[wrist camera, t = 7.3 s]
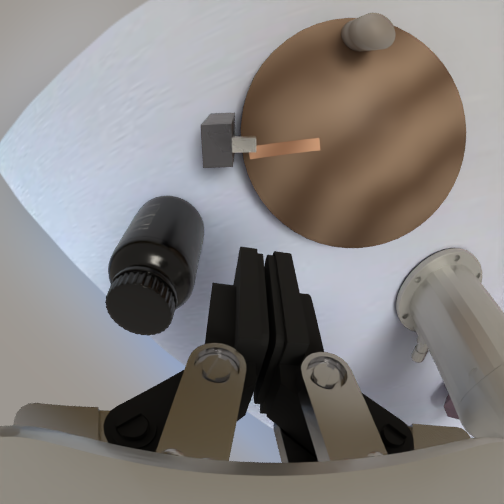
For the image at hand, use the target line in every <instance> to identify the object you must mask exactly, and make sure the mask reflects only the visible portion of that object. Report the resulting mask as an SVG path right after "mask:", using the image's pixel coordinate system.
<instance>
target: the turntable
mask: <svg viewBox="0 0 504 504" xmlns="http://www.w3.org/2000/svg"><path fill="white" fill-rule="evenodd" d="M241 136H256V152H243V159H244V163H245V166H246V169H247V173H248V176H249V178H250V180H251V182H252V185H253V187H254V189H255V191H256V192H257V194H258V195H259V197H260V199H261V200H262V202H263V203H264V204H265V205H266V207H267V208H268V209H269V210H270V212H271V213H272V214H273V215H274V216H275V217H276V218H278V219H279V220H280V221H281V222H282V223H283V224H284V225H286V226H287V227H289V228H290V229H291V230H293V231H294V232H296V233H298V234H300V235H302V236H303V237H305V238H307V239H310V240H313V241H315V242H318V243H321V244H325V245H329V246H334V247H342V248H363V247H371V246H376V245H380V244H384V243H387V242H390V241H392V240H395V239H398V238H400V237H402V236H404V235H406V234H407V233H409V232H411V231H412V230H414V229H415V228H417V227H418V226H420V225H421V224H422V223H423V222H425V221H426V220H427V219H428V218H429V217H430V216H431V215H432V214H433V213H434V212H435V211H436V210H437V209H438V208H439V207H440V205H441V204H442V203H443V201H444V200H445V199H446V197H447V196H448V194H449V192H450V191H451V189H452V187H453V185H454V183H455V181H456V179H457V176H458V174H459V171H460V168H461V165H462V161H463V157H464V151H465V143H466V124H465V115H464V110H463V105H462V101H461V98H460V95H459V92H458V90H457V87H456V85H455V83H454V81H453V79H452V77H451V75H450V74H449V72H448V71H447V69H446V67H445V66H444V64H443V63H442V62H441V61H440V60H439V58H438V57H437V56H436V55H435V54H434V53H433V52H432V51H431V50H430V49H429V48H428V47H427V46H426V45H425V44H424V43H422V42H421V41H420V40H418V39H417V38H415V37H414V36H412V35H411V34H409V33H407V32H405V31H403V30H401V29H400V28H398V27H395V26H393V24H392V23H391V21H390V20H389V19H388V18H386V17H385V16H383V15H381V14H378V13H369V14H366V15H364V16H361V17H359V18H344V19H335V20H330V21H326V22H322V23H319V24H316V25H313V26H311V27H309V28H306V29H304V30H302V31H300V32H298V33H297V34H295V35H294V36H292V37H290V38H289V39H287V40H286V41H285V42H284V43H283V44H281V45H280V46H279V47H278V48H277V49H276V50H275V51H273V52H272V53H271V55H270V56H269V57H268V58H267V59H266V60H265V62H264V63H263V64H262V65H261V67H260V69H259V70H258V72H257V73H256V75H255V77H254V78H253V81H252V83H251V85H250V88H249V90H248V92H247V96H246V99H245V103H244V107H243V114H242V122H241Z"/></svg>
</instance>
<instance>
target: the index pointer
mask: <svg viewBox="0 0 504 504" xmlns="http://www.w3.org/2000/svg"><path fill="white" fill-rule="evenodd" d="M201 139H202V155H203V168H214V167H233V162H234V156H235V153H243V152H256V136H236V133H235V113H214V114H210V115H209V116H208V117H207V118H206V120H205V121H204V122H203V123H202V124H201Z"/></svg>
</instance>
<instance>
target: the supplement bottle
mask: <svg viewBox="0 0 504 504" xmlns="http://www.w3.org/2000/svg"><path fill="white" fill-rule="evenodd" d="M203 237H204V225H203V221H202V218H201V216H200V214H199V213H198V211H197V210H196V209H195V208H194V207H193V206H192V205H191V204H190V203H188V202H187V201H185V200H183V199H180V198H177V197H173V196H161V197H156V198H154V199H151V200H150V201H148V202H147V203H145V204H144V205H143V206H142V207H141V208H140V210H139V211H138V213H137V214H136V216H135V217H134V219H133V220H132V222H131V224H130V225H129V227H128V229H127V230H126V232H125V233H124V235H123V237H122V238H121V240H120V242H119V243H118V245H117V247H116V248H115V250H114V252H113V254H112V256H111V258H110V261H109V267H108V274H109V279H110V283H111V286H110V289H109V291H108V294H107V296H106V302H105V303H106V305H107V306H106V308H107V310H108V313H109V314H110V316H111V318H112V319H113V320H114V321H115V322H116V323H117V324H118V325H119V326H121V327H123V328H124V329H125V330H128V331H129V332H132V333H135V334H141V335H155V334H157V333H161V332H162V331H164V330H165V329H166V328H168V327H169V325H170V324H171V322H172V319H173V315H174V312H175V310H176V309H177V308H179V307H180V306H182V305H183V304H184V303H185V302H186V301H187V300H188V299H189V297H190V295H191V293H192V290H193V287H194V283H195V278H196V273H197V267H198V262H199V257H200V252H201V247H202V242H203Z"/></svg>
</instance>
